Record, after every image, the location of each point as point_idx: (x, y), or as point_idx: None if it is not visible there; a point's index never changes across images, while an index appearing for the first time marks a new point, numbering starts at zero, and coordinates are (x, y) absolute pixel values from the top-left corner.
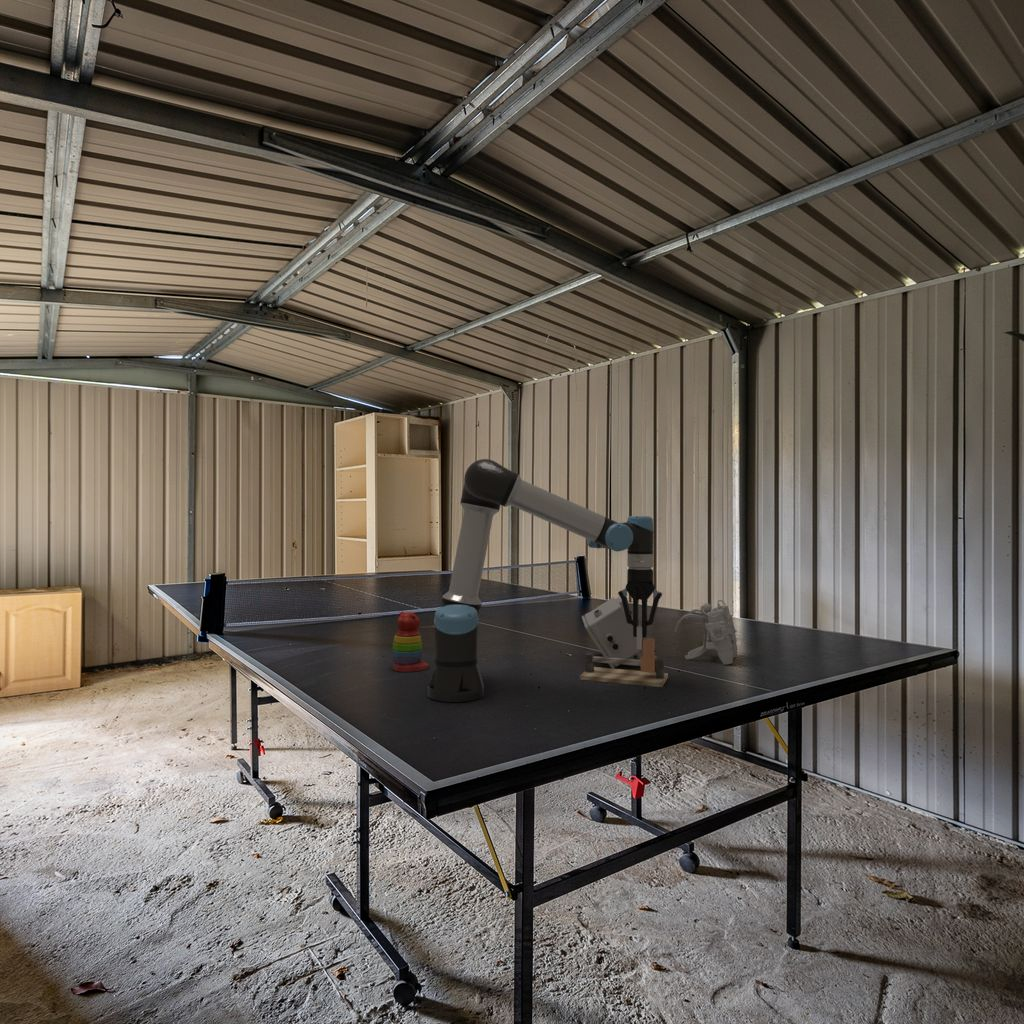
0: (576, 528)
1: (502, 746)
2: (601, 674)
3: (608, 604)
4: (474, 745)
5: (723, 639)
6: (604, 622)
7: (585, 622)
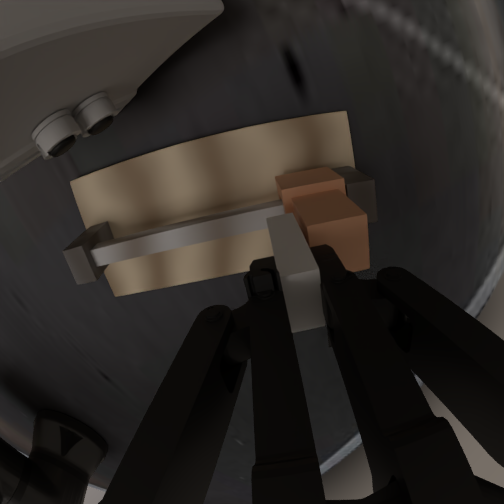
0: None
1: (244, 497)
2: (154, 254)
3: None
4: (222, 500)
5: None
6: None
7: None
